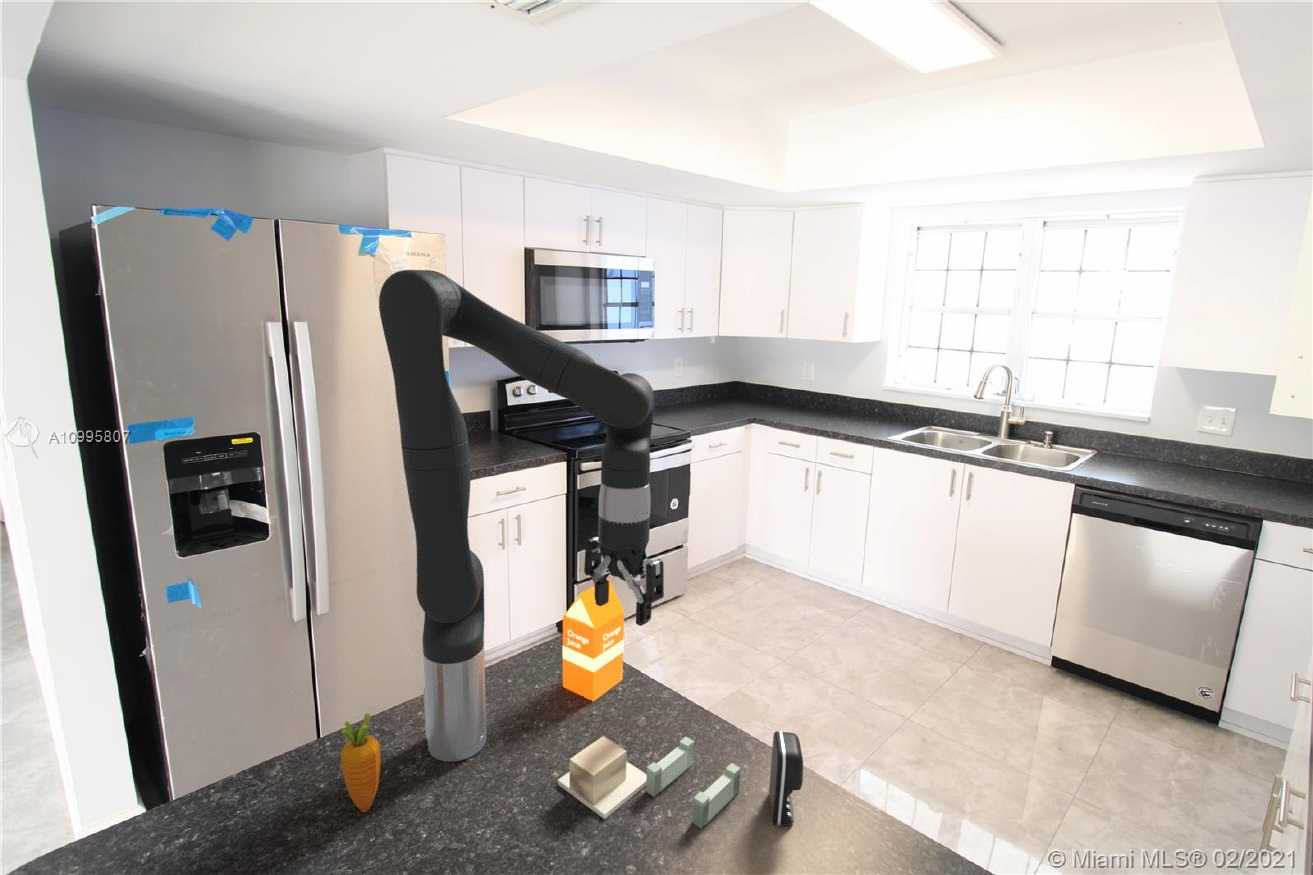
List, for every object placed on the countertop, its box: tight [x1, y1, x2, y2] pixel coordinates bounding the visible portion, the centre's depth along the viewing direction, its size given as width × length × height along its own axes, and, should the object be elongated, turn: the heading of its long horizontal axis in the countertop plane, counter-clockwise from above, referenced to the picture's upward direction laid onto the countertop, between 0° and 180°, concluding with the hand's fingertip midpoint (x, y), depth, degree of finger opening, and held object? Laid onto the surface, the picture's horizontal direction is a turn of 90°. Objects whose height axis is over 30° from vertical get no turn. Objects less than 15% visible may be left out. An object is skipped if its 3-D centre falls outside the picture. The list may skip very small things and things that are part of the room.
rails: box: [645, 736, 741, 829], centre depth 100 cm, size 10×10×4 cm
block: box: [569, 735, 628, 805], centre depth 99 cm, size 5×7×5 cm
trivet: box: [557, 761, 647, 820], centre depth 101 cm, size 10×10×1 cm
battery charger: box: [768, 730, 804, 826], centre depth 96 cm, size 7×4×11 cm, turn 175°
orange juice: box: [562, 578, 625, 702], centre depth 124 cm, size 8×9×20 cm
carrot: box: [340, 713, 381, 813], centre depth 93 cm, size 5×5×15 cm
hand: (621, 613), depth 100 cm, fingers open, 8 cm apart
